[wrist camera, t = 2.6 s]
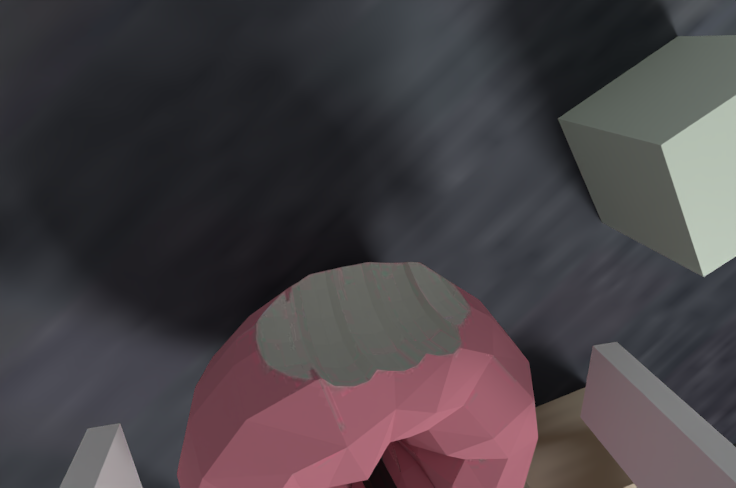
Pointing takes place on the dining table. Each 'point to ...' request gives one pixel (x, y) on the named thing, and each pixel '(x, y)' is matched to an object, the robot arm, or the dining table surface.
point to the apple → (364, 390)
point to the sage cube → (666, 151)
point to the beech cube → (571, 450)
